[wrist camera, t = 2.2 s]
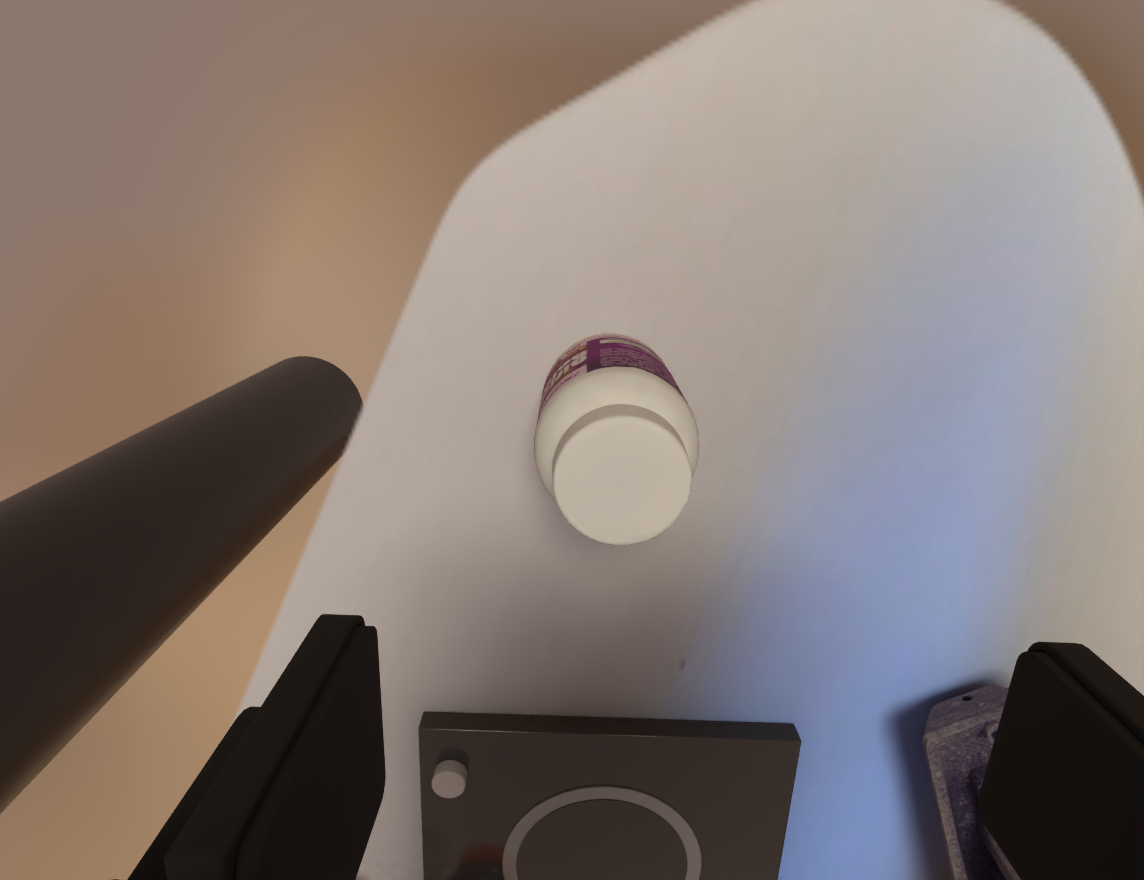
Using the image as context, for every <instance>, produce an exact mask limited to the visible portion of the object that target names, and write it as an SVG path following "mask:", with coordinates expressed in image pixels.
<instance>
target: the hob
mask: <svg viewBox="0 0 1144 880" xmlns="http://www.w3.org/2000/svg"><path fill="white" fill-rule="evenodd" d="M418 730H419V758H420V786H421V813H422V841H423V869H424V880H777V879H778V873H779V868H780V862H781V856H782V850H783V845H784V839H785V833H786V827H787V821H788V816H789V810H790V804H791V798H792V792H793V787H794V781H795V775H796V769H797V763H798V758H799V752H800V746H801V739H800V737H799V734H798V732H797V730H796V728H795V725H794V724H786V723H755V722H725V721H694V720H664V719H633V718H602V717H572V716H541V715H511V714H480V713H450V712H423V715H422V719H421V722H420V725H419V729H418Z"/></svg>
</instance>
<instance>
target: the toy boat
mask: <svg viewBox="0 0 1144 880" xmlns="http://www.w3.org/2000/svg"><path fill="white" fill-rule="evenodd" d="M1008 690H1009V688H1005V687H1001V686H998V685H994V684H993V685H990V686H986V687H982V688H980V689H977V690H974V691H971V692H968V693H966V694H963V695H960V696H957V697H954V698H951V699H948V700H945V701H943V702H940V703H937V704H935V705H934V706H933V707H932V708H931V709H930V714H929V716H928V719H927V721H926V726H925V733H924V736H923V738H922V744H923V749H924V753H925V757H926V762H927V767H928V771H929V776H930V781H931V785H932V789H933V794H934V799H935V803H936V806H937V811H938V816H939V821H940V826H941V830H942V836H943V839H944V843H945V848H946V853H947V857H948V862H949V866H950V870H951V874H952V878H953V880H1021V879H1020V878H1019V876H1018V875H1017V873H1016V872H1015V870H1014V869H1013V867H1012V866H1011V864H1010V863H1009V861H1008V860H1007V858H1006V857H1005V855H1004V854H1003V852H1002V851H1001V849H1000V848H999V846H998V844H997V843H996V841H995V840H994V838H993V837H992V835H991V834H990V832H989V831H988V829H987V828H986V826H985V824H984V822H983V821H982V818H981V815H980V811H979V803H978V799H979V793H980V790H981V786H982V783H983V779H984V775H985V772H986V768H987V765H988V761H989V758H990V754H991V751H992V747H993V743H994V740H995V736H996V733H997V729H998V726H999V722H1000V719H1001V715H1002V711H1003V708H1004V704H1005V701H1006V697H1007V694H1008Z"/></svg>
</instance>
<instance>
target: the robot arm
mask: <svg viewBox="0 0 1144 880" xmlns="http://www.w3.org/2000/svg"><path fill="white" fill-rule="evenodd" d="M384 787H385V756H384V739H383V723H382V706H381V689H380V672H379V655H378V638H377V630H376V628H375V627H374V626H365V622H364V619H363V617H362V616H359V615H333V614H323V615H321V616H320V617H319V618H318V619H317V621H316V622H315V624H314V625H313V627H312V628H311V630H310V631H309V633H308V634H307V636H306V638H305V639H304V641H303V642H302V644H301V645H300V647H299V648H298V650H297V652H296V653H295V655H294V656H293V658H292V659H291V661H290V662H289V664H288V666H287V667H286V669H285V670H284V672H283V673H282V675H281V676H280V678H279V680H278V681H277V683H276V684H275V686H274V687H273V689H272V690H271V692H270V694H269V695H268V697H267V698H266V700H265V701H264V703H263V704H262V706H261V707H249V708H247V709H245V710H243V712H242V713H241V714H240V715H239V716H238V717H237V719H236V720H235V722H234V723H233V724H232V726H231V727H230V729H229V730H228V732H227V733H226V735H225V736H224V738H223V739H222V741H221V742H220V744H219V745H218V747H217V748H216V750H215V751H214V753H213V754H212V756H211V757H210V759H209V760H208V761H207V763H206V764H205V766H204V767H203V769H202V770H201V772H200V773H199V775H198V776H197V778H196V779H195V781H194V782H193V784H192V785H191V787H190V788H189V790H188V791H187V792H186V794H185V795H184V797H183V798H182V800H181V801H180V803H179V805H178V806H177V807H176V809H175V810H174V812H173V813H172V815H171V816H170V818H169V819H168V821H167V822H166V823H165V825H164V826H163V828H162V829H161V831H160V832H159V834H158V835H157V837H156V838H155V840H154V841H153V843H152V845H151V846H150V847H149V849H148V850H147V852H146V853H145V855H144V856H143V857H142V859H141V860H140V862H139V863H138V865H137V866H136V868H135V869H134V871H133V872H132V874H131V875H130V877H129V878H128V880H355V879H356V876H357V873H358V870H359V867H360V864H361V861H362V858H363V855H364V852H365V849H366V846H367V843H368V840H369V837H370V834H371V831H372V828H373V825H374V822H375V820H376V817H377V814H378V811H379V808H380V805H381V801H382V798H383V793H384ZM978 803H979V811H980V815H981V818H982V821H983V822H984V824H985V826H986V828H987V829H988V831H989V832H990V834H991V835H992V837H993V838H994V840H995V841H996V843H997V844H998V846H999V848H1000V849H1001V851H1002V852H1003V854H1004V855H1005V857H1006V858H1007V860H1008V861H1009V863H1010V864H1011V866H1012V867H1013V869H1014V870H1015V872H1016V873H1017V875H1018V876H1019V878H1020V879H1021V880H1144V696H1143V695H1142V694H1141V693H1140V692H1139V691H1137V690H1136V689H1135V688H1134V687H1133V686H1132V685H1130V684H1129V683H1128V682H1127V681H1126V680H1125V679H1123V678H1122V677H1121V676H1120V675H1119V674H1118V673H1117V672H1115V671H1114V670H1113V669H1112V668H1111V667H1110V666H1108V665H1107V664H1106V663H1105V662H1104V661H1103V660H1101V659H1100V658H1099V657H1098V656H1097V655H1096V654H1094V653H1093V652H1092V651H1091V650H1090V649H1089V648H1087V647H1085V646H1084V645H1082V644H1077V643H1056V642H1037V643H1034V644H1033V645H1032V646H1031V647H1029V649H1028V651H1027V652H1023V653H1022V654H1020V655H1019V657H1018V659H1017V662H1016V665H1015V669H1014V672H1013V676H1012V679H1011V683H1010V687H1009V690H1008V694H1007V697H1006V701H1005V704H1004V708H1003V711H1002V715H1001V719H1000V722H999V726H998V729H997V733H996V736H995V740H994V743H993V747H992V751H991V754H990V758H989V761H988V765H987V768H986V772H985V775H984V779H983V783H982V786H981V790H980V793H979V799H978ZM113 880H118V879H113Z"/></svg>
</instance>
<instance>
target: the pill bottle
mask: <svg viewBox="0 0 1144 880" xmlns="http://www.w3.org/2000/svg"><path fill="white" fill-rule="evenodd" d="M534 453H535V461H536V466H537V470H538V473H539V475H540V478H541V480H542V482H543V484H544V486H545V488H546V490H547V491H548V492H549V494H550V495H551V496H552V498H553V499H554V500H555V501H556V502H557V504H558V507H559V509H560V511H561V513H562V514H563V516H564V517H565V518H566V520H567V521H568V522H569V523H570V524H571V525H572V526H573V527H574V528H575V529H576V530H578V531H579V532H580V533H582V534H583V535H585V536H587V537H589V538H591V539H594V540H596V541H599V542H601V543H606V544H611V545H629V544H635V543H640V542H643V541H646V540H649V539H651V538H654V537H655V536H657V535H659V534H661V533H662V532H664V531H665V530H666V529H668V528H669V527H670V526H671V525H672V524H673V523H674V522H675V521H676V520H677V518H678V517H679V516H680V514H681V513H682V511H683V509H684V508H685V506H686V504H687V502H688V499H689V496H690V491H691V486H692V477H693V475H694V472H695V469H696V466H697V461H698V455H699V435H698V428H697V424H696V421H695V418H694V415H693V412H692V410H691V408H690V407H689V405H688V403H687V401H686V400H685V398H684V396H683V395H682V393H681V391H680V389H679V387H678V385H677V384H676V382H675V380H674V378H673V377H672V375H671V373H670V372H669V370H668V369H667V367H666V366H665V364H664V363H663V361H662V360H661V358H660V357H659V356H658V355H657V354H656V353H655V352H654V351H653V350H652V349H651V348H650V347H648V346H647V345H645V344H644V343H642V342H641V341H639V340H636V339H634V338H631V337H628V336H624V335H619V334H600V335H595V336H591V337H588V338H585V339H583V340H581V341H579V342H577V343H575V344H574V345H572V346H571V347H570V348H568V349H567V350H566V351H565V352H564V353H563V354H562V355H560V357H559V358H558V359H557V361H556V362H555V363H554V365H553V366H552V368H551V370H550V371H549V374H548V376H547V378H546V382H545V385H544V389H543V394H542V399H541V403H540V410H539V416H538V422H537V426H536V430H535V437H534Z"/></svg>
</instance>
